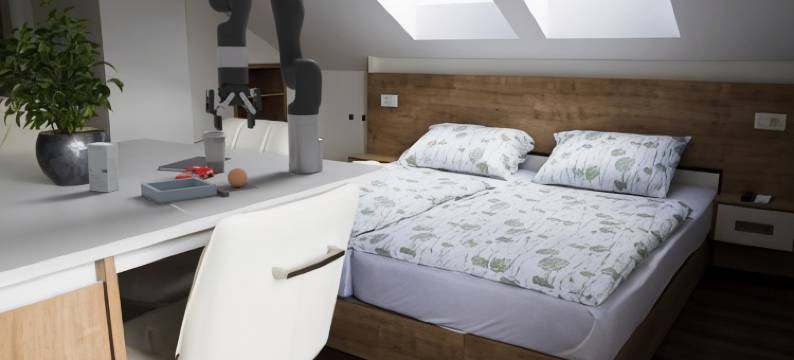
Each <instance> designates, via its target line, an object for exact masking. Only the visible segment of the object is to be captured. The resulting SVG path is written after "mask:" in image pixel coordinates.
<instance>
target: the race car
mask: <svg viewBox="0 0 794 360" xmlns="http://www.w3.org/2000/svg"><path fill="white" fill-rule="evenodd" d="M181 172H182V173H180V174H178V175H176V176H175V177H174V180H175V179H184V178H193V177H197V178H200V179H202V180H205V181H206V180H208V179H211V178H214V177H215V174H214V171H213V169H212V168H207V167H201V166H196V167H190V168H188V169H187V170H185V171H181Z"/></svg>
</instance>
